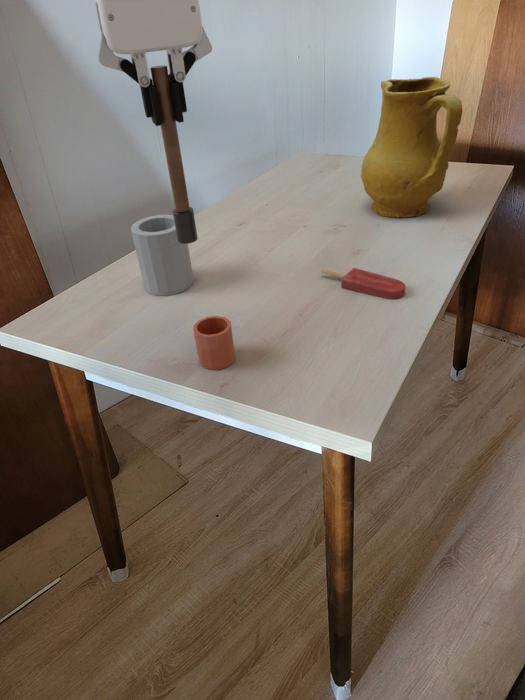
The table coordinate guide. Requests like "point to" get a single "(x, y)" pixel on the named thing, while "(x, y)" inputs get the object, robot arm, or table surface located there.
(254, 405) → the table surface
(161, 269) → the grey hollow cylinder
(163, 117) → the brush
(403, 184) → the pitcher
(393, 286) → the popsicle
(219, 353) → the pen cup
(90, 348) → the table surface
